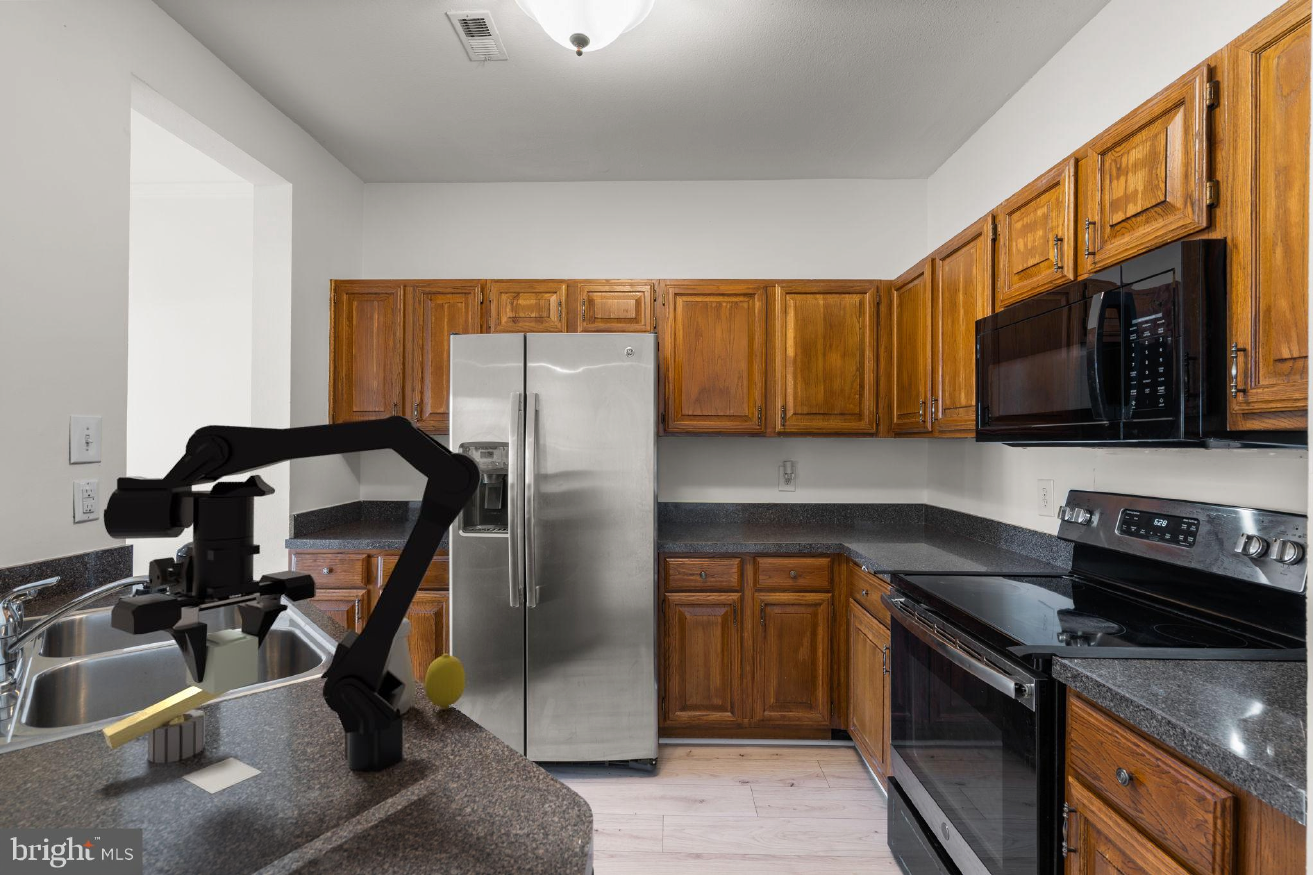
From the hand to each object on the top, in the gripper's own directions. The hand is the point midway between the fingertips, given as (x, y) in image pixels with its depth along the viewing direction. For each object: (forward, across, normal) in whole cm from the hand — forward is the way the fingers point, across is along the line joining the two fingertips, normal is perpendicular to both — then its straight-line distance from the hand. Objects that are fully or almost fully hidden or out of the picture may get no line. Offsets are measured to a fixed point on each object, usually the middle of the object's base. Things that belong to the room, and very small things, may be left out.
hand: (222, 675), depth 73 cm
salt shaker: (+12, -23, 0) cm, 26 cm away
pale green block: (+1, 0, 0) cm, 1 cm away
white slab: (+12, 0, -5) cm, 13 cm away
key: (+11, -1, -11) cm, 15 cm away
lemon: (+12, -27, +6) cm, 30 cm away
